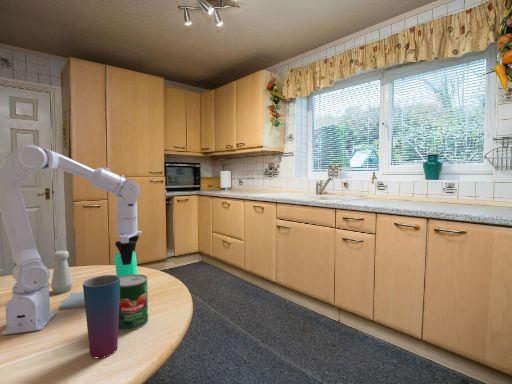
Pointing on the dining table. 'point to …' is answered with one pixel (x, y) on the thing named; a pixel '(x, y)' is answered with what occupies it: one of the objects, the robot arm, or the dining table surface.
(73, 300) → the mat
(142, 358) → the dining table surface
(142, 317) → the canned tomato
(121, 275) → the candle
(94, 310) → the cup
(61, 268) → the salt shaker
